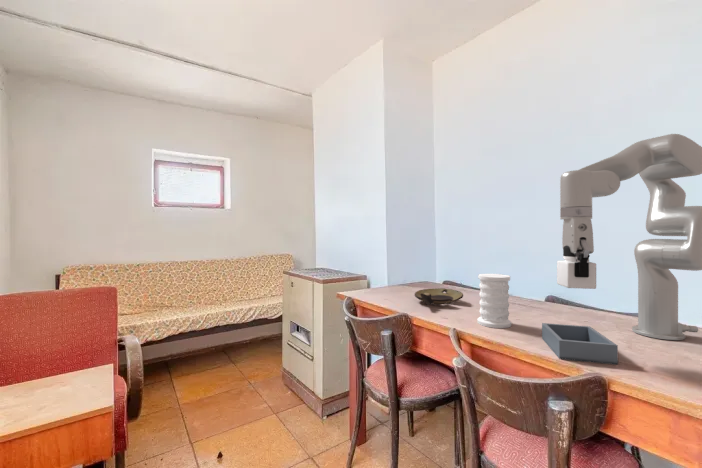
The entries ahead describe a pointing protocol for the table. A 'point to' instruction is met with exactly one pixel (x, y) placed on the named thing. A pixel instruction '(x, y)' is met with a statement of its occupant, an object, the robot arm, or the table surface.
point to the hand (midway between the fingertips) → (575, 274)
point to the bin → (579, 343)
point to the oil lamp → (438, 296)
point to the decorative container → (494, 301)
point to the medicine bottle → (568, 272)
